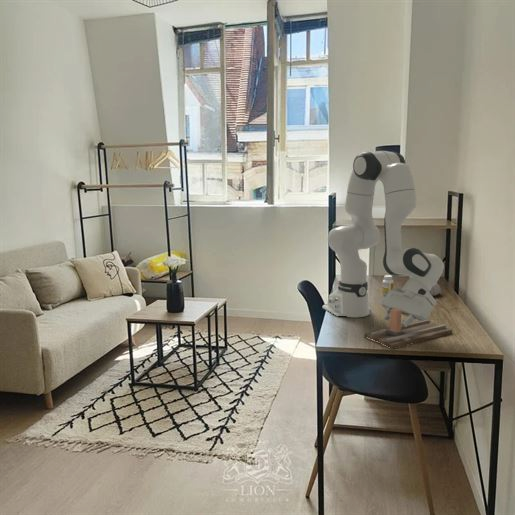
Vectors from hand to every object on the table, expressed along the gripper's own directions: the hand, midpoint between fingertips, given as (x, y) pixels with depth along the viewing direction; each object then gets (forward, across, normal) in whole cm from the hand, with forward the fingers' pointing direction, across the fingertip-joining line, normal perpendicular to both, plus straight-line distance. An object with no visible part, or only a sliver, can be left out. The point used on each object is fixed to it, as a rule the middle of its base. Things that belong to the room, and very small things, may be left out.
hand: (394, 322), depth 168 cm
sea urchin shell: (-38, -39, +48) cm, 72 cm away
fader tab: (+3, 0, +4) cm, 5 cm away
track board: (-1, 0, +10) cm, 10 cm away
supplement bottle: (-26, -48, +36) cm, 65 cm away
